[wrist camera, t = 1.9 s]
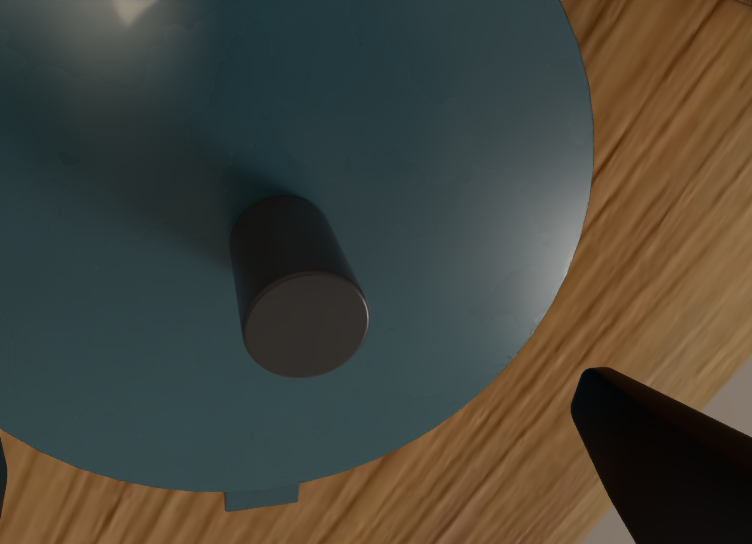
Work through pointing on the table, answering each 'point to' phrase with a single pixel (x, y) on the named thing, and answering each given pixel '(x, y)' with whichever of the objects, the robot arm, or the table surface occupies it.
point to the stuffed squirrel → (746, 1)
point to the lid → (276, 224)
